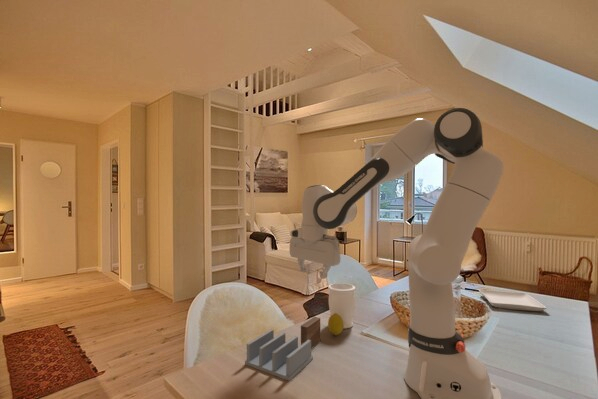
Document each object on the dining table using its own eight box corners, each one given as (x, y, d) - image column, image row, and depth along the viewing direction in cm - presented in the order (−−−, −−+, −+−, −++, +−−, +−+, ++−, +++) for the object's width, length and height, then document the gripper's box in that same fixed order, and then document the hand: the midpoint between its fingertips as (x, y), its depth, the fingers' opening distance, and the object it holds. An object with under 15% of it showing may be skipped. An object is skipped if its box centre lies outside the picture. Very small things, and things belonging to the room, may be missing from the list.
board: (320, 341, 104) (320, 318, 105) (307, 352, 97) (307, 327, 97) (314, 339, 106) (314, 316, 106) (300, 350, 98) (300, 325, 98)
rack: (312, 359, 92) (312, 339, 92) (289, 381, 81) (289, 358, 81) (271, 346, 101) (271, 328, 101) (244, 364, 90) (244, 344, 90)
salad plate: (526, 299, 147) (526, 292, 147) (548, 315, 127) (548, 307, 127) (477, 295, 153) (477, 288, 153) (490, 310, 133) (490, 302, 133)
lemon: (343, 339, 105) (342, 316, 105) (327, 338, 106) (327, 315, 106) (343, 332, 111) (343, 311, 111) (328, 331, 112) (328, 310, 112)
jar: (323, 324, 119) (322, 286, 119) (340, 317, 125) (340, 281, 125) (344, 332, 111) (343, 292, 111) (361, 325, 117) (360, 286, 118)
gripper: (345, 236, 96) (344, 279, 96) (299, 230, 110) (298, 267, 110) (332, 237, 91) (331, 282, 91) (287, 231, 106) (286, 270, 106)
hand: (313, 274), depth 101 cm, fingers open, 8 cm apart
